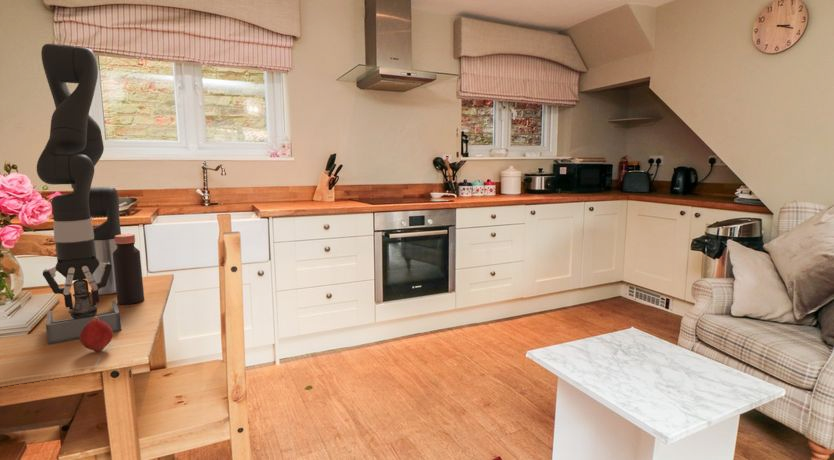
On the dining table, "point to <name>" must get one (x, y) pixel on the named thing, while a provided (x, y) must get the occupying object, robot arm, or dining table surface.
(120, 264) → the bottle
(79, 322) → the box
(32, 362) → the dining table surface
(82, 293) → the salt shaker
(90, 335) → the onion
